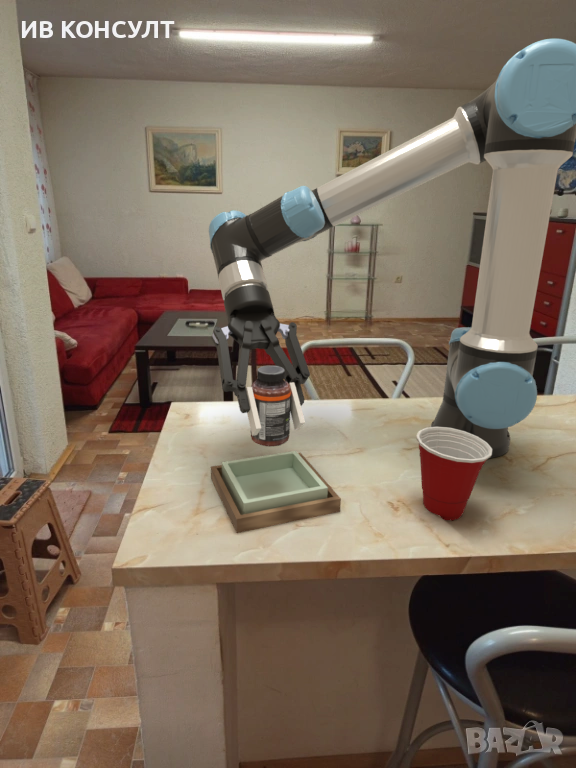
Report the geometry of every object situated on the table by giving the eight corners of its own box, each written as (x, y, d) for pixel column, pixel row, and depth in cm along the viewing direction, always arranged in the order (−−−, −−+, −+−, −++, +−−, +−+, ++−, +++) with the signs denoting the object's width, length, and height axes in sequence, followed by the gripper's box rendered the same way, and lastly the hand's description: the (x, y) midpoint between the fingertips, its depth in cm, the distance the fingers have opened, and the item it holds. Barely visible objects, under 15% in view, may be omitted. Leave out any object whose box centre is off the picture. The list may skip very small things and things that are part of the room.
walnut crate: (299, 467, 91) (300, 452, 90) (339, 516, 77) (340, 498, 76) (211, 482, 86) (210, 466, 85) (236, 537, 72) (236, 519, 71)
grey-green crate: (295, 468, 89) (295, 450, 88) (326, 508, 78) (327, 487, 76) (222, 481, 85) (221, 462, 83) (244, 524, 73) (244, 503, 72)
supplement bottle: (249, 431, 81) (250, 362, 77) (287, 431, 81) (289, 362, 78) (250, 448, 75) (251, 375, 71) (291, 447, 76) (293, 375, 72)
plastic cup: (486, 536, 73) (499, 460, 69) (409, 525, 75) (417, 452, 71) (476, 496, 83) (487, 428, 79) (408, 488, 85) (415, 421, 81)
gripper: (294, 307, 89) (329, 430, 80) (185, 312, 83) (210, 446, 74) (307, 280, 83) (346, 411, 74) (190, 284, 76) (218, 427, 67)
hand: (278, 428), depth 74 cm, fingers closed on supplement bottle, 6 cm apart
